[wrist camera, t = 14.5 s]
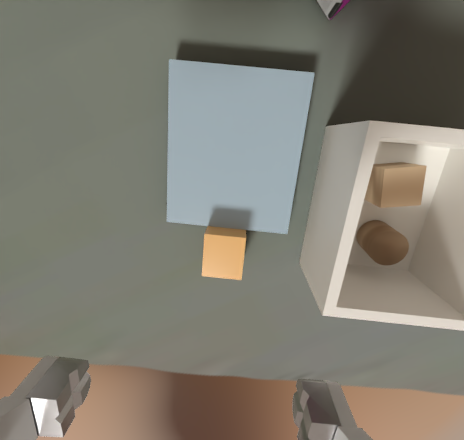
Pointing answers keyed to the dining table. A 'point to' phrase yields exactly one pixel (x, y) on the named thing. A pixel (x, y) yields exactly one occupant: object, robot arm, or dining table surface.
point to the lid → (233, 153)
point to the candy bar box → (331, 6)
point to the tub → (400, 218)
